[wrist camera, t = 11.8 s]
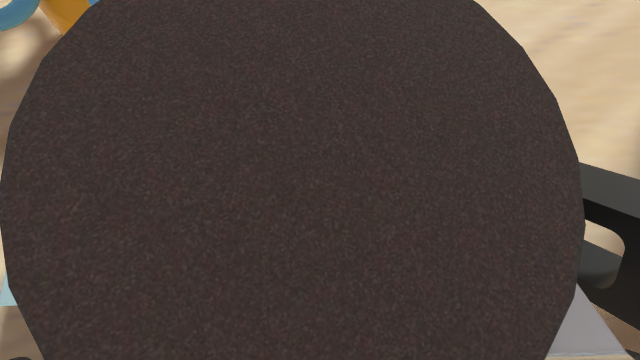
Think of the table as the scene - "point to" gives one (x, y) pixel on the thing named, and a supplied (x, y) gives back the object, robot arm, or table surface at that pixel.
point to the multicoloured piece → (57, 4)
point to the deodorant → (290, 186)
